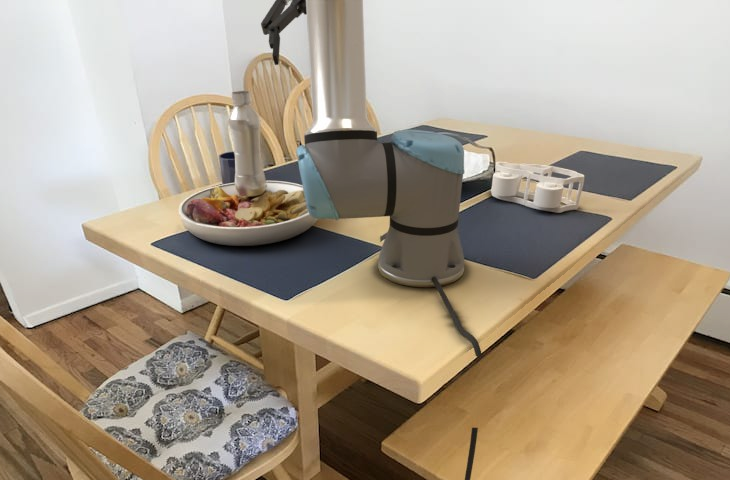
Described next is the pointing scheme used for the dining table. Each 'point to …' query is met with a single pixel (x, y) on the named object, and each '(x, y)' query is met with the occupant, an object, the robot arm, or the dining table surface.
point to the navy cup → (227, 167)
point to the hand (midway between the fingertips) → (308, 60)
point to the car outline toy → (546, 189)
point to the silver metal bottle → (246, 145)
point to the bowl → (247, 214)
